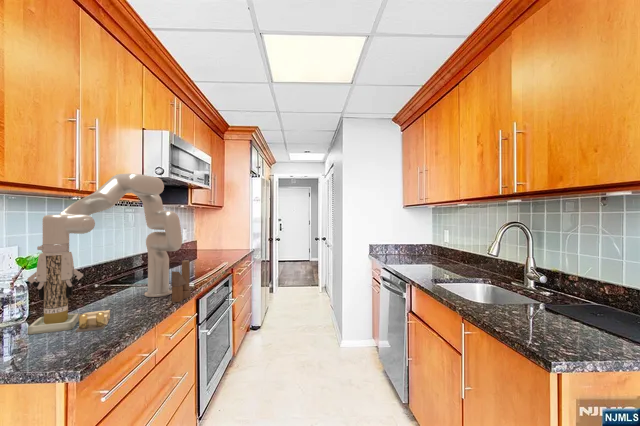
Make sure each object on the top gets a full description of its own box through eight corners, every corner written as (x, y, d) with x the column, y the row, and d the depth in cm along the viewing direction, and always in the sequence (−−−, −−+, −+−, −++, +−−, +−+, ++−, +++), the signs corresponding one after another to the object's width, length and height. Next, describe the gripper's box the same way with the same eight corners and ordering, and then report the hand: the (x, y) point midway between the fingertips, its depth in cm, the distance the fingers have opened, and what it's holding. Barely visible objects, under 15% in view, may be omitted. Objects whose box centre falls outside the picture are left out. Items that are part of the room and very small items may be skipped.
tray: (39, 324, 120) (39, 317, 120) (79, 319, 126) (79, 313, 126) (27, 334, 110) (27, 327, 110) (71, 329, 115) (71, 322, 115)
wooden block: (171, 302, 151) (171, 263, 151) (184, 296, 162) (184, 259, 162) (178, 302, 151) (179, 263, 151) (191, 296, 161) (191, 260, 161)
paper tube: (48, 320, 120) (48, 252, 120) (70, 318, 122) (70, 251, 122) (40, 326, 113) (40, 254, 113) (64, 324, 116) (64, 253, 116)
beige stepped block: (85, 321, 124) (85, 312, 124) (109, 319, 128) (109, 310, 128) (79, 329, 116) (79, 319, 116) (106, 326, 120) (106, 316, 120)
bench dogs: (78, 328, 116) (78, 314, 116) (105, 325, 119) (105, 311, 119) (75, 332, 112) (75, 318, 112) (103, 329, 115) (103, 314, 115)
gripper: (20, 251, 111) (20, 304, 111) (83, 248, 118) (83, 298, 118) (28, 249, 117) (28, 298, 118) (87, 246, 125) (87, 293, 125)
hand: (56, 298), depth 118 cm, fingers closed on paper tube, 6 cm apart
